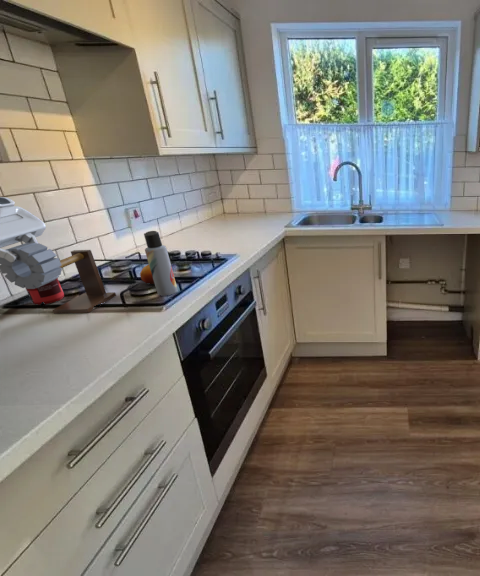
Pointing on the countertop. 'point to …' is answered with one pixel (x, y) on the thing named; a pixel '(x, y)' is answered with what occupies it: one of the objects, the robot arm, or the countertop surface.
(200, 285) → the countertop surface
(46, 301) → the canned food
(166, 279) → the lotion bottle
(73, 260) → the hook stand
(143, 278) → the fruit
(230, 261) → the countertop surface
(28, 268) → the grey gear
